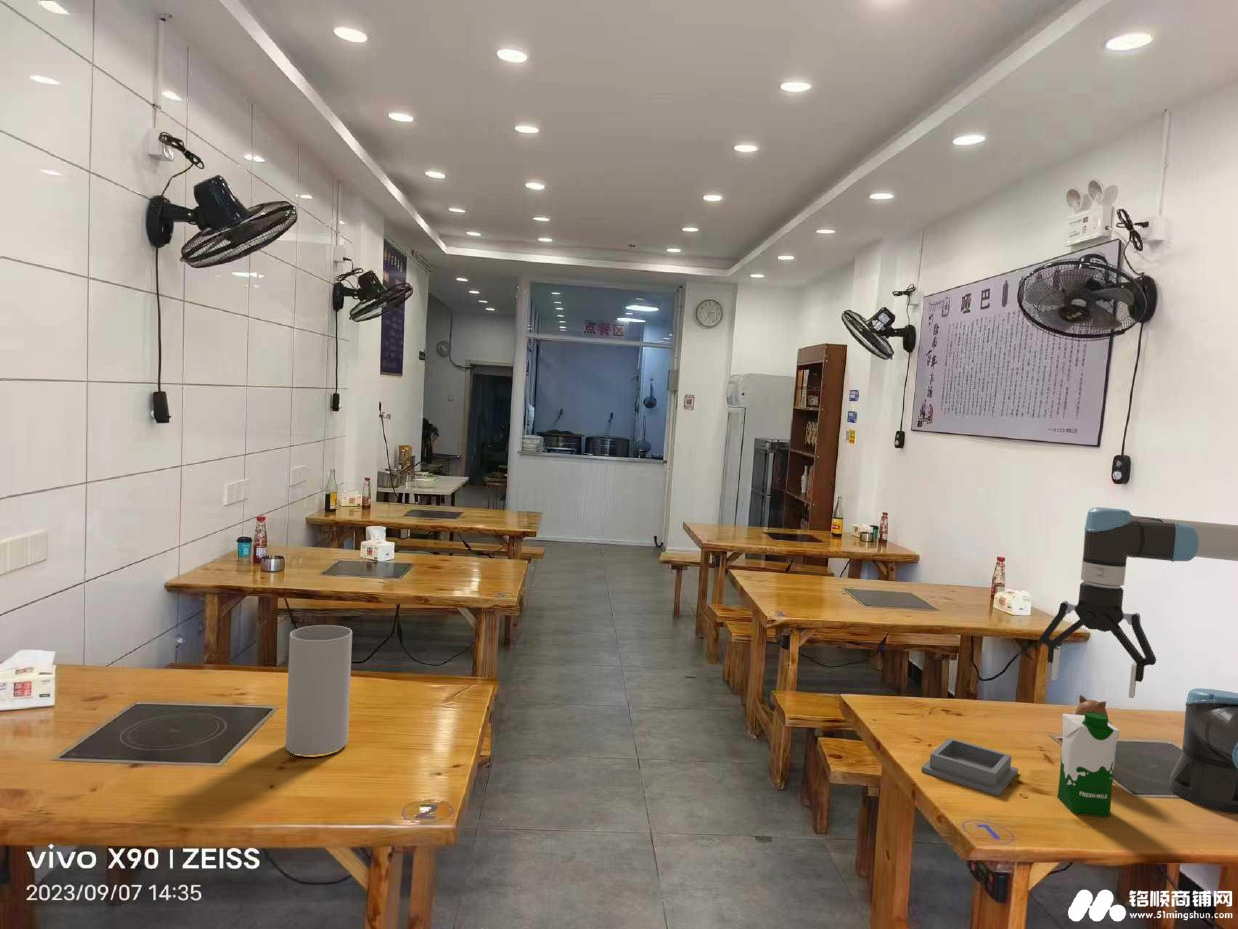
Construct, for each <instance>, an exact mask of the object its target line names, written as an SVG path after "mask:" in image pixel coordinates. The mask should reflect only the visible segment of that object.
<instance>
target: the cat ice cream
mask: <svg viewBox="0 0 1238 929" xmlns="http://www.w3.org/2000/svg"><path fill="white" fill-rule="evenodd" d="M1078 700H1079V704H1078V706H1077V708H1076V709H1075V710H1072V711H1071V712H1069V714H1073V715H1085V713H1086V712H1096V713H1100V714H1103V715H1105V716H1107V717H1108V718H1109V716H1108V712H1107V709H1106V707H1107V701H1097V700H1094V699H1087V698H1085V696H1083V695H1082V694H1079V698H1078ZM1108 722H1109V723H1110V724H1111V725H1113V724H1112V722H1111V721H1110V720H1109V719H1108Z"/></svg>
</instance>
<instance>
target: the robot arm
mask: <svg viewBox="0 0 1238 929" xmlns="http://www.w3.org/2000/svg"><path fill="white" fill-rule="evenodd" d="M1083 537H1084V538H1083V553H1082V562H1081V569H1080V580H1081V583H1080V584H1079V592H1078V602H1077V604H1073V603H1070V602H1068V601H1067V600H1064V601H1063V602H1061V603H1060V604H1059V608H1058V612H1057V614H1056V615H1055V617H1054V618H1053V619H1052V621H1051V622H1050V623H1049V625H1048V626H1047V627H1046V628H1045V629H1044V631H1043V633H1042V634H1041V636H1040V637H1039V638H1038V642H1039V643H1040V644H1041V643H1042V644H1045V645H1046V646H1047V663H1051V664H1052V666H1051V679H1050V680H1051V681H1056V680H1058V679H1059V671H1060V670H1059V669H1060V661H1061V649H1062V648H1061V647H1060V646H1058V645H1059V644H1060V643H1062V642H1063V641H1064V640H1066V639H1067V638H1068V637H1069V636H1070V635H1072V634H1073V633H1074V632H1076V631H1077V630H1079V629H1080V628H1081V627H1083V626H1084V627H1085V628H1087V630H1098V631H1100V632H1103V633H1106V632H1111V633H1112V634H1113V635H1114V637H1115V638H1116V639H1117V641H1119V643H1120V644H1121V645H1122V646H1123V648H1124V650H1126V652H1127V653H1128V655H1130V657H1131V658H1132V660H1133V661H1134V662H1132V663H1131V668H1130V669H1131V670H1130V677H1129V678H1130V679H1129V689H1128V698H1130V699H1134V698H1135V695H1136V689H1137V688H1136V686H1137V682H1138V683H1139V682H1140V683H1142V681H1143V679H1144V673H1145V667H1146V666H1149V665H1150V666H1154V665H1155V664H1156V662H1157V658H1156V655H1155V653H1154V652H1153V649H1152V647H1151V645H1150V643H1149V640H1148V638H1147V636H1146V633H1145V631H1144V629H1143V627H1142V624H1141V615H1140V614H1139V613H1138V612H1134V613H1124V611H1123V600H1124V589H1123V586H1124V585H1125V579H1126V569H1127V559H1128V558H1132V559H1133V558H1134V559H1135V558H1136V559H1137V558H1138V559H1149V560H1158V561H1170V562H1172V563H1174V562H1191V560H1192V561H1193V559H1194V558H1203V559H1212V560H1213V559H1214V560H1215V559H1216V560H1223V561H1232V562H1238V525H1237V524H1225V523H1216V522H1215V523H1214V522H1206V521H1205V522H1204V521H1196V520H1195V521H1193V520H1183V519H1171V518H1162V517H1160V518H1159V517H1158V518H1156V517H1151V516H1139V515H1137V516H1136V515H1133V514H1131V512H1130V511H1129V510H1127V509H1123V508H1121V509H1120V508H1110V507H1098V506H1097V507H1091V508H1090V509H1089V510H1088V511H1087V515H1086V519H1085V524H1084V536H1083ZM1082 581H1083V582H1082ZM1073 611H1074V612H1075V613H1076V615H1077V617H1078V618H1079V619H1078V620H1077V621H1076V622H1074V623H1073V624H1071V625H1070V626H1069V627H1068V628H1067V629H1065V630H1064V631H1062V632H1061V633H1060V634H1058V635H1057V636H1055V638H1053V639H1052V638H1051V636H1052V634H1053V633H1054V631H1055V630H1056V629H1057V628H1058V626H1059V625H1060V624H1061V622H1062V621H1063V620H1064V618H1065V617H1066V616H1067V615H1069V614H1071V613H1072V612H1073ZM1123 620H1125V621H1126V622H1127V624H1128V625H1130V626H1131V628H1132V631H1133V633H1134V634H1135V638H1136V640H1137V642H1138V644H1139V646H1140V648H1141V651H1142V653H1143V655H1144V657H1143V656H1142V654H1141V653H1140V651H1139V650H1138V649H1137V648H1136V647H1135V645H1134V644H1133V642H1132V641H1131V640H1130V639H1129V637H1128V636H1127V635H1126V633H1125V632H1124V630H1123V629H1122V627H1121V626H1120V625H1119V624H1120V623H1121V622H1122V621H1123ZM1184 713H1185V715H1184V727H1183V728H1184V729H1183V739H1182V750H1181V755H1180V757H1179V759H1178V760H1177V761H1176V764H1175V765H1174V768H1173V770H1172V771H1171V773H1170V774H1169V780H1168V787H1169V789H1170V790H1171V791H1172V792H1173V793H1175V794H1176V795H1177V796H1179V797H1180V798H1182V799H1184V800H1186V801H1189V802H1191V803H1193V804H1196V805H1199V806H1200V807H1201V806H1202V807H1205V808H1208V809H1212V810H1215V811H1219V812H1222V813H1223V812H1224V813H1228V814H1229V813H1230V814H1235V815H1236V814H1237V815H1238V692H1232V691H1226V690H1220V689H1212V688H1201V687H1200V688H1199V687H1198V688H1193V689H1191V690H1189V691H1188V693H1187V698H1186V702H1185V712H1184Z"/></svg>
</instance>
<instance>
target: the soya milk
mask: <svg viewBox="0 0 1238 929" xmlns="http://www.w3.org/2000/svg"><path fill="white" fill-rule="evenodd" d="M1061 716H1062V744H1061V745H1062V746H1061V754H1060V756H1061V757H1060V769H1059V777H1058V778H1059V779H1058V789H1057V795H1056V796H1057V799H1059V801H1060V802H1061V803H1062V804H1063V805H1064V806H1065V807H1066V808H1067V809H1068V810H1069V811H1070V812H1071V813H1072V814H1074V815H1085V816H1092V817H1093V816H1094V817H1105V818H1111V817H1110V816H1111V806H1112V793H1113V792H1112V791H1113V781H1114V771H1115V770H1114V769H1115V760H1116V748H1117V743H1118V740H1119V735H1120V732H1121V731H1120V729H1118V728H1117V727H1115V726H1114V725H1113V724H1112V723H1111V724H1112V725H1111V724H1110V723H1109V722H1108V720H1109V716H1108V717H1107V716H1105V715H1103V714H1100V713H1096V712H1086V713H1085V715H1073V714H1070V713H1062V715H1061Z"/></svg>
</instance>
